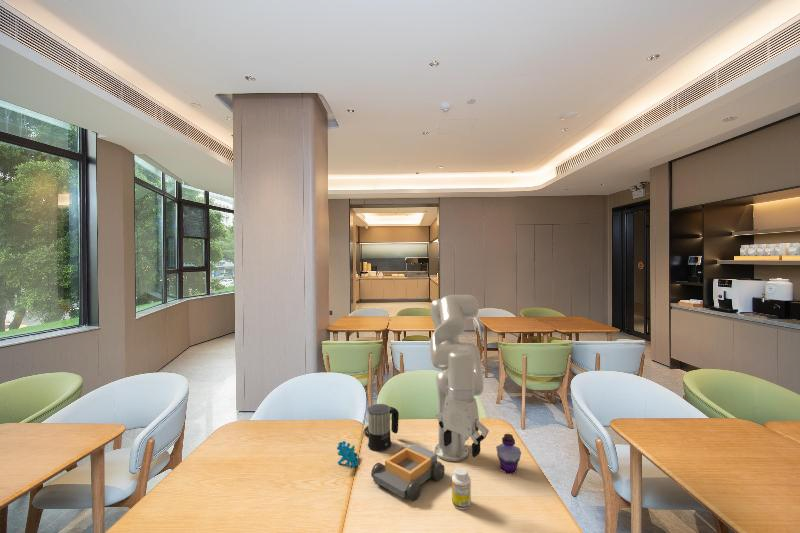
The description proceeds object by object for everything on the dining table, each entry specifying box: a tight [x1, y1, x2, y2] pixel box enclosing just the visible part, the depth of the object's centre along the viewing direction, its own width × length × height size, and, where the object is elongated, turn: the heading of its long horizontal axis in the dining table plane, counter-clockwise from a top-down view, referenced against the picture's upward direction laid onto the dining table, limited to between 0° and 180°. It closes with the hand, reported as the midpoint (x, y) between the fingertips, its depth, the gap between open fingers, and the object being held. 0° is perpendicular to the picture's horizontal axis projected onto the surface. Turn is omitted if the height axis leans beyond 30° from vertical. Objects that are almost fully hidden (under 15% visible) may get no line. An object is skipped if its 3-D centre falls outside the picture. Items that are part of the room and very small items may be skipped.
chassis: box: [371, 443, 446, 502], centre depth 122 cm, size 20×17×6 cm
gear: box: [336, 440, 360, 469], centre depth 132 cm, size 11×6×10 cm
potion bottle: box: [496, 433, 522, 474], centre depth 127 cm, size 9×9×12 cm
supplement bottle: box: [451, 466, 472, 510], centre depth 110 cm, size 6×6×10 cm
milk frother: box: [363, 403, 400, 452], centre depth 147 cm, size 14×16×15 cm
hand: (461, 449), depth 109 cm, fingers open, 9 cm apart
